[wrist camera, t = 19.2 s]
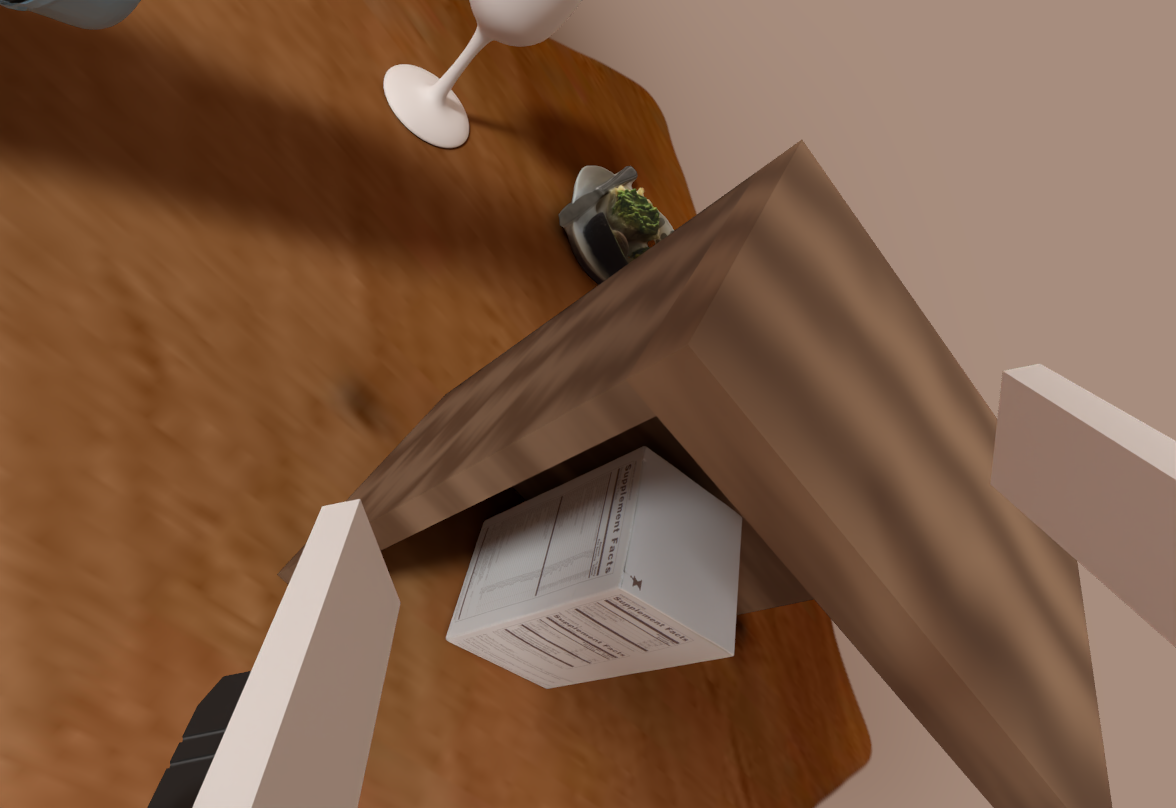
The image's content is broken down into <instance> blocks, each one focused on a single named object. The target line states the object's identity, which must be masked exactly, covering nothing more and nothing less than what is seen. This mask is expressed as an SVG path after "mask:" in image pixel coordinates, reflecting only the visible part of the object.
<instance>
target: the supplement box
mask: <svg viewBox="0 0 1176 808" xmlns="http://www.w3.org/2000/svg"><path fill="white" fill-rule="evenodd" d="M741 529H742V517H741V516H740V515H739V514H738V513H736V512H735V511H734V510H732V509H731V508H730V507H729V506H727V505H726V504H725V503H723V502H722V501H720V500H719V499H718V498H716V497H715V496H713V495H712V494H711V493H709V492H708V491H706V490H705V489H704V488H702V487H701V486H700V485H698V484H697V483H695V482H694V481H693V480H691V479H690V478H689V477H687V476H686V475H685V474H683V473H682V472H681V471H679V470H678V469H677V468H675V467H674V466H673V465H671V464H670V463H668V462H667V461H666V460H664V459H663V458H661V457H660V456H659V455H657V454H656V453H654V452H653V451H652V450H650V449H649V448H648V447H646V446H643V447H640V448H638V449H636V450H634V451H632V452H630V453H628V454H626V455H623V456H621V457H619V458H617V459H615V460H613V461H611V462H609V463H607V464H605V465H603V466H600V467H598V468H596V469H594V470H592V471H590V472H588V473H585V474H583V475H581V476H579V477H577V478H575V479H573V480H571V481H568V482H566V483H564V484H562V485H560V486H558V487H556V488H554V489H551V490H549V491H547V492H545V493H542V494H540V495H538V496H536V497H534V498H532V499H530V500H527V501H525V502H523V503H521V504H519V505H517V506H515V507H513V508H510V509H508V510H506V511H504V512H502V513H500V514H497V515H495V516H493V517H491V518H489V519H487V520H485V521H484V523H483V526H482V529H481V532H480V535H479V538H478V541H477V544H476V547H475V550H474V553H473V556H472V559H471V562H470V565H469V568H468V571H467V574H466V577H465V580H464V583H463V587H462V590H461V593H460V596H459V599H458V602H457V605H456V608H455V611H454V614H453V617H452V620H451V623H450V626H449V629H448V632H447V635H446V640H447V641H449V642H451V643H453V644H455V645H457V646H459V647H461V648H463V649H465V650H467V651H469V652H471V653H473V654H475V655H477V656H479V657H482V658H484V659H486V660H488V661H490V662H492V663H494V664H496V665H498V666H500V667H503V668H505V669H507V670H509V671H511V672H513V673H515V674H517V675H519V676H521V677H523V678H525V679H527V680H529V681H531V682H533V683H536V684H538V685H540V686H542V687H544V688H546V689H549V688H554V687H560V686H565V685H571V684H577V683H583V682H588V681H594V680H600V679H605V678H612V677H617V676H622V675H628V674H634V673H640V672H646V671H652V670H658V669H663V668H669V667H675V666H680V665H686V664H692V663H697V662H703V661H709V660H715V659H721V658H726V657H732V656H734V649H735V631H736V613H737V596H738V580H739V563H740V546H741Z"/></svg>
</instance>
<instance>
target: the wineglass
mask: <svg viewBox="0 0 1176 808" xmlns="http://www.w3.org/2000/svg"><path fill="white" fill-rule="evenodd" d="M469 1H470V5H471V8H472V11H473V14H474V16H475V18H476V21H477V23H478V26H477V29H476V32H475V34H474V36H473V37H472V39H471V41H470V42H469V44H468V45H467V47H466V48H465V50H464V51H463V52H462V54H461V55H460V56H459V58H458V59H457V60H456V61H455V63H454V64H453V65H452V66H451V67H450V68H449V70H448V71H447V72H446V73H445V74H444V75H443V76H442V77H441V78H440V79H439V78H438V77H436V76H435V75H433V74H432V73H430V72H428V71H426V70H424V69H422V68H419V67H417V66H413V65H407V64H401V65H396V66H393V67H391V68H390V69H389V70H388V71H387V72H386V74H385V77H384V92H385V96H386V98H387V101H388V103H389V105H390V107H391V109H392V110H393V112H394V113H395V115H396V116H397V117H398V119H399V120H400V121H401V122H402V123H403V124H404V125H405V126H406V127H407V128H408V129H409V130H410V131H411V132H412V133H414V134H415V135H416V136H418V137H419V138H421V139H422V140H424V141H426V142H428V143H430V144H432V145H435V146H438V147H443V148H454V147H458V146H460V145H462V144H463V143H464V142H465V141H466V139H467V137H468V134H469V122H468V118H467V115H466V112H465V110H464V108H463V106H462V104H461V102H460V101H459V99H458V98H457V96H456V95H455V94H454V92H453V91H452V90H451V88H452V86H453V85H454V83H455V82H456V80H457V79H458V78H459V76H460V75H461V73H462V72H463V71H464V69H465V68H466V67H467V65H468V64H469V63H470V62H471V60H472V59H473V58H474V57H475V56H476V54H477V53H478V52H479V51H480V50H481V49H482V48H483V47H484V46H485V45H486V44H488V43H489V42H491V41H493V40H496V41H498V42H501V43H503V44H507V45H511V46H530V45H534V44H537V43H540V42H542V41H544V40H545V39H547V38H548V37H550V36H551V35H552V34H553V33H554V32H556V31H557V30H558V29H559V28H560V27H561V26H562V25H563V24H564V23H565V21H566V20H567V19H568V18H569V17H570V16H571V15H572V13H573V12H574V11H575V9H576V8H577V7H578V6H579V4H580V3H581V1H582V0H469Z"/></svg>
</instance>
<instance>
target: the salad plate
mask: <svg viewBox="0 0 1176 808" xmlns="http://www.w3.org/2000/svg"><path fill="white" fill-rule="evenodd" d="M636 178H637V172H636V170H635V169H634V168H633V167H631V166H627V167H625V168H624V169H623V170H621V171H620V172H618V173H616V174H613V173H612V172H610V171H609V170H607V169H605V168H603V167H600V166H586V167H584V168H582V169H581V171H580V172H579V174H578V177H577V179H576V182H575V185H574V192H573V197H572V203H569V204H568V205H567V206H566V207H565V208H564V209H563V210H562V211H561V212H560V214H559V223H560V226H562V227H563V228H564V229H565V231H566V233H567V236H568V239H569V242H570V245H571V248H572V250H573V253H574V255H575V257H576V258H577V260H578V262H579V264H580V265H581V267H582V268H583V269H584V271H585V272H586V273H587V274H588V275H589V276H590V277H591V278H592V279H593V280H594V281H595V282H596V283H597V284H601V283H602V282H604V281H605V280H606V279H608V278H609V277H611V276H612V275H613V274H615V273H616V272H618V271H619V270H620V269H622V268H623V267H625V266H626V265H627V264H629V263H630V262H632V261H633V260H634V259H636V258H637V257H639V256H640V255H641V254H643V253H644V252H646V251H647V250H648V249H650V248H649V247H648V245H647V243H648V241H651V240H654V241H655V243H656V244H657V243H658V242H660V241H661V240H662V239H664V238H665V237H667V236H668V235H669V234H671V233H672V232H674V230H673V228H672V226H671V225H670V223H669V222H668V220H667V219H666V218H665V217H664V216H663V215H662V214H661V213H660V212H659V211H658V210H657V208H654V207H653V206H652V203H651V201H650V200H648V199H646V198H645V197H644V195H643V192H644V191H645V189H644V188H642V187H640V188H639V190H638V191H637V192H636V189H635V188H634V189H632V187H631V185H632V183H633V181H635V180H636ZM629 257H630V258H629Z"/></svg>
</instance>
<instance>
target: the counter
mask: <svg viewBox="0 0 1176 808" xmlns="http://www.w3.org/2000/svg"><path fill="white" fill-rule="evenodd" d="M996 428H997V418H996V417H995V415H994V414H993V412H992V411H991V409H990V408H989V406H988V405H987V404H986V402H985V401H984V399H983V398H982V396H981V395H980V394H979V392H978V391H977V389H976V388H975V387H974V385H973V384H972V382H971V381H970V379H969V378H968V377H967V375H966V374H965V372H964V371H963V369H962V368H961V367H960V365H959V364H958V362H957V361H956V359H955V358H954V357H953V355H952V353H951V352H950V351H949V349H948V348H947V346H946V345H945V344H944V342H943V341H942V339H941V338H940V336H939V335H938V334H937V332H936V331H935V329H934V328H933V326H932V325H931V323H930V322H929V321H928V319H927V318H926V316H925V315H924V314H923V312H922V311H921V309H920V308H919V306H918V305H917V304H916V302H915V301H914V299H913V298H912V296H911V295H910V293H909V292H908V291H907V289H906V288H905V286H904V285H903V284H902V282H901V281H900V279H899V278H898V276H897V275H896V273H895V272H894V271H893V269H892V268H891V266H890V265H889V263H888V262H887V261H886V259H885V258H884V256H883V255H882V253H881V252H880V250H879V249H878V248H877V246H876V245H875V243H874V242H873V240H872V239H871V238H870V236H869V235H868V233H867V232H866V231H865V229H864V228H863V226H862V225H861V223H860V222H859V220H858V219H857V218H856V216H855V215H854V213H853V212H852V211H851V209H850V208H849V206H848V205H847V204H846V202H845V200H844V199H843V198H842V196H841V195H840V193H839V192H838V190H837V189H836V187H835V186H834V185H833V183H832V182H831V180H830V179H829V177H828V176H827V175H826V173H825V172H824V170H823V169H822V167H821V166H820V165H819V163H818V162H817V160H816V159H815V157H814V156H813V155H812V153H811V152H810V150H809V149H808V147H807V146H806V145H805V143H804V142H803V140H801V141H799V142H798V143H797V144H795V145H794V146H792V147H791V148H789V149H788V150H787V151H785V152H784V153H783V154H781V155H780V156H778V157H777V158H776V159H774V160H773V161H772V162H770V163H769V164H767V165H766V166H764V167H763V168H762V169H760V170H759V171H757V172H756V173H755V174H753V175H752V176H751V177H749V178H748V179H746V180H745V181H743V182H742V183H741V184H739V185H738V186H736V187H735V188H734V189H732V190H731V191H729V192H728V193H727V194H725V195H724V196H722V197H721V198H720V199H718V200H717V201H715V202H714V203H713V204H711V205H710V206H708V207H707V208H706V209H704V210H703V211H702V212H700V213H699V214H697V215H696V216H694V217H693V218H692V219H690V220H689V221H688V222H686V223H685V224H683V225H682V226H681V227H679V228H678V229H676V230H675V231H674V232H672V233H671V234H669V235H668V236H667V237H665V238H664V239H662V240H661V241H660V242H658V243H657V244H655V245H654V246H653V247H651V248H650V249H648V250H647V251H646V252H644V253H643V254H641V255H640V256H639V257H637V258H636V259H634V260H633V261H632V262H630V263H629V264H627V265H626V266H625V267H623V268H622V269H620V270H619V271H618V272H616V273H615V274H613V275H612V276H611V277H609V278H608V279H606V280H605V281H604V282H602V283H601V284H599V285H598V286H597V287H595V288H594V289H593V290H591V291H590V292H588V293H587V294H586V295H584V296H583V297H581V298H580V299H579V300H577V301H576V302H574V303H573V304H572V305H570V306H569V307H567V308H566V309H565V310H563V311H562V312H560V313H559V314H558V315H556V316H555V317H553V318H552V319H551V320H549V321H548V322H546V323H545V324H544V325H542V326H541V327H539V328H538V329H537V330H535V331H534V332H532V333H531V334H530V335H528V336H527V337H525V338H524V339H523V340H521V341H520V342H518V343H517V344H516V345H514V346H513V347H511V348H510V349H509V350H507V351H506V352H504V353H503V354H502V355H500V356H499V357H498V358H496V359H495V360H493V361H492V362H491V363H489V364H488V365H486V366H485V367H484V368H482V369H481V370H479V371H478V372H477V373H475V374H474V375H472V376H471V377H470V378H468V379H467V380H465V381H464V382H463V383H461V384H460V385H458V386H457V387H456V388H454V389H453V390H451V391H450V392H449V393H447V394H446V395H445V396H444V397H443V398H442V399H441V400H440V401H439V402H438V403H437V404H436V405H435V407H434V408H433V409H432V410H431V411H430V412H429V413H428V414H427V415H426V416H425V417H424V418H423V419H422V420H421V421H420V423H419V424H418V425H417V426H416V427H415V428H414V429H413V430H412V431H411V432H410V433H409V434H408V435H407V436H406V437H405V439H404V440H403V441H402V442H401V443H400V444H399V445H398V446H397V447H396V448H395V449H394V450H393V451H392V452H391V453H390V455H389V456H388V457H387V458H386V459H385V460H384V461H383V462H382V463H381V464H380V465H379V466H378V467H377V468H376V469H375V471H374V472H373V473H372V474H371V475H370V476H369V477H368V478H367V479H366V480H365V481H364V482H363V483H362V484H361V485H360V487H359V488H358V489H357V490H356V491H355V492H354V493H353V494H352V495H351V496H350V497H349V498H348V499H347V500H346V502H347V501H352V500H357V499H360V500H361V502H362V505H363V507H364V510H365V513H366V515H367V518H368V520H369V523H370V525H371V528H372V531H373V533H374V536H375V538H376V541H377V544H378V546H379V549H380V551H381V550H383V549H385V548H387V547H389V546H391V545H393V544H395V543H397V542H399V541H401V540H403V539H405V538H407V537H409V536H411V535H414V534H416V533H418V532H420V531H422V530H424V529H426V528H428V527H430V526H432V525H434V524H436V523H438V522H440V521H442V520H444V519H446V518H448V517H450V516H452V515H454V514H457V513H459V512H461V511H463V510H465V509H467V508H469V507H471V506H473V505H475V504H477V503H479V502H481V501H483V500H485V499H487V498H489V497H491V496H493V495H495V494H497V493H500V492H502V491H504V490H506V489H508V488H510V487H513V488H514V489H515V490H516V491H517V492H518V493H519V494H520V495H521V496H522V497H523V498H524V499H525V501H527V500H530V499H532V498H534V497H536V496H538V495H540V494H542V493H545V492H547V491H549V490H551V489H554V488H556V487H558V486H560V485H562V484H564V483H566V482H568V481H571V480H573V479H575V478H577V477H579V476H581V475H583V474H585V473H588V472H590V471H592V470H594V469H596V468H598V467H600V466H603V465H605V464H607V463H609V462H611V461H613V460H615V459H617V458H619V457H621V456H623V455H626V454H628V453H630V452H632V451H634V450H636V449H638V448H640V447H643V446H646V447H648V448H649V449H650V450H652V451H653V452H654V453H656V454H657V455H659V456H660V457H661V458H663V459H664V460H666V461H667V462H668V463H670V464H671V465H673V466H674V467H675V468H677V469H678V470H679V471H681V472H682V473H683V474H685V475H686V476H687V477H689V478H690V479H691V480H693V481H694V482H695V483H697V484H698V485H700V486H701V487H702V488H704V489H705V490H706V491H708V492H709V493H711V494H712V495H713V496H715V497H716V498H718V499H719V500H720V501H722V502H723V503H725V504H726V505H727V506H729V507H730V508H731V509H732V510H734V511H735V512H736V513H738V514H739V515H740V516H741V517H742V529H741V546H740V563H739V580H738V596H737V613H736V615H740V614H744V613H749V612H754V611H759V610H764V609H769V608H774V607H779V606H784V605H789V604H793V603H798V602H803V601H808V600H813V599H814V600H815V601H816V602H817V603H818V604H819V605H820V606H821V608H822V609H823V610H824V611H825V612H826V613H827V615H828V616H829V617H830V618H831V619H832V620H833V622H834V623H835V624H836V625H837V626H838V627H839V629H840V630H841V631H842V632H843V633H844V634H845V636H846V637H847V638H848V639H849V640H850V641H851V642H852V644H853V645H854V646H855V647H856V648H857V649H858V651H859V652H860V653H861V654H862V655H863V656H864V658H865V659H866V660H867V661H868V662H869V663H870V665H871V666H872V667H873V668H874V669H875V670H876V672H878V674H879V675H880V676H881V677H882V678H883V680H884V681H885V682H886V683H887V684H888V685H889V686H890V687H891V689H892V690H893V691H894V692H895V694H896V695H897V696H898V697H899V698H900V699H901V700H902V702H903V703H904V704H905V705H906V706H907V708H908V709H909V710H910V711H911V712H912V713H913V714H914V716H915V717H916V718H917V719H918V720H919V721H920V723H921V724H922V725H923V726H924V727H925V728H926V730H927V731H928V732H929V733H930V734H931V735H932V737H933V738H934V739H935V740H936V741H937V742H938V743H939V745H940V746H941V747H942V748H943V749H944V751H945V752H946V753H947V754H948V755H949V756H950V757H951V759H952V760H953V761H954V762H955V763H956V764H957V766H958V767H959V768H960V769H961V770H962V771H963V773H964V774H965V775H966V776H967V777H968V778H969V779H970V781H971V782H972V783H973V784H974V785H975V787H976V788H977V789H978V790H979V791H980V792H981V793H982V795H983V796H984V797H985V798H986V799H987V800H988V801H989V803H990V804H991V805H992V806H993V807H994V808H1112V802H1111V795H1110V789H1109V781H1108V775H1107V767H1106V760H1105V753H1104V746H1103V739H1102V733H1101V725H1100V718H1099V711H1098V704H1097V697H1096V690H1095V683H1094V676H1093V669H1092V662H1091V655H1090V648H1089V641H1088V634H1087V628H1086V620H1085V613H1084V606H1083V599H1082V592H1081V585H1080V578H1079V570H1078V564H1077V560H1076V559H1075V558H1073V557H1072V556H1071V555H1070V554H1069V553H1068V552H1067V551H1065V550H1064V549H1063V548H1062V547H1061V546H1060V545H1059V544H1058V543H1056V542H1055V541H1054V540H1053V539H1052V538H1051V537H1050V536H1048V535H1047V534H1046V533H1045V532H1044V531H1043V530H1042V529H1041V528H1039V527H1038V526H1037V525H1036V524H1035V523H1034V522H1033V521H1031V520H1030V519H1029V518H1028V517H1027V516H1026V515H1025V514H1024V513H1022V512H1021V511H1020V510H1019V509H1018V508H1017V507H1016V506H1014V505H1013V504H1012V503H1011V502H1010V501H1009V500H1008V499H1007V498H1005V497H1004V496H1003V495H1002V494H1001V493H1000V492H999V491H997V490H996V489H995V488H994V487H993V486H992V485H991V484H990V483H991V474H992V465H993V456H994V447H995V437H996ZM305 545H306V544H305ZM305 545H304V546H303V547H302V548H301V550H300V551H299V552H298V553H297V554H296V555H295V556H294V557H293V558H292V559H291V560H290V561H289V562H288V563H287V564H286V566H285V567H284V568H283V569H282V570H281V571H280V572H279V573H278V574H277V575H279V576H280V577H281V578H282V579H283V580H284V581H285V582H286V583H288V584H289V582H290V580H291V578H292V575H293V573H294V571H295V569H296V566H297V564H298V562H299V559H300V557H301V555H302V552H303V550H304V548H305Z"/></svg>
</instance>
